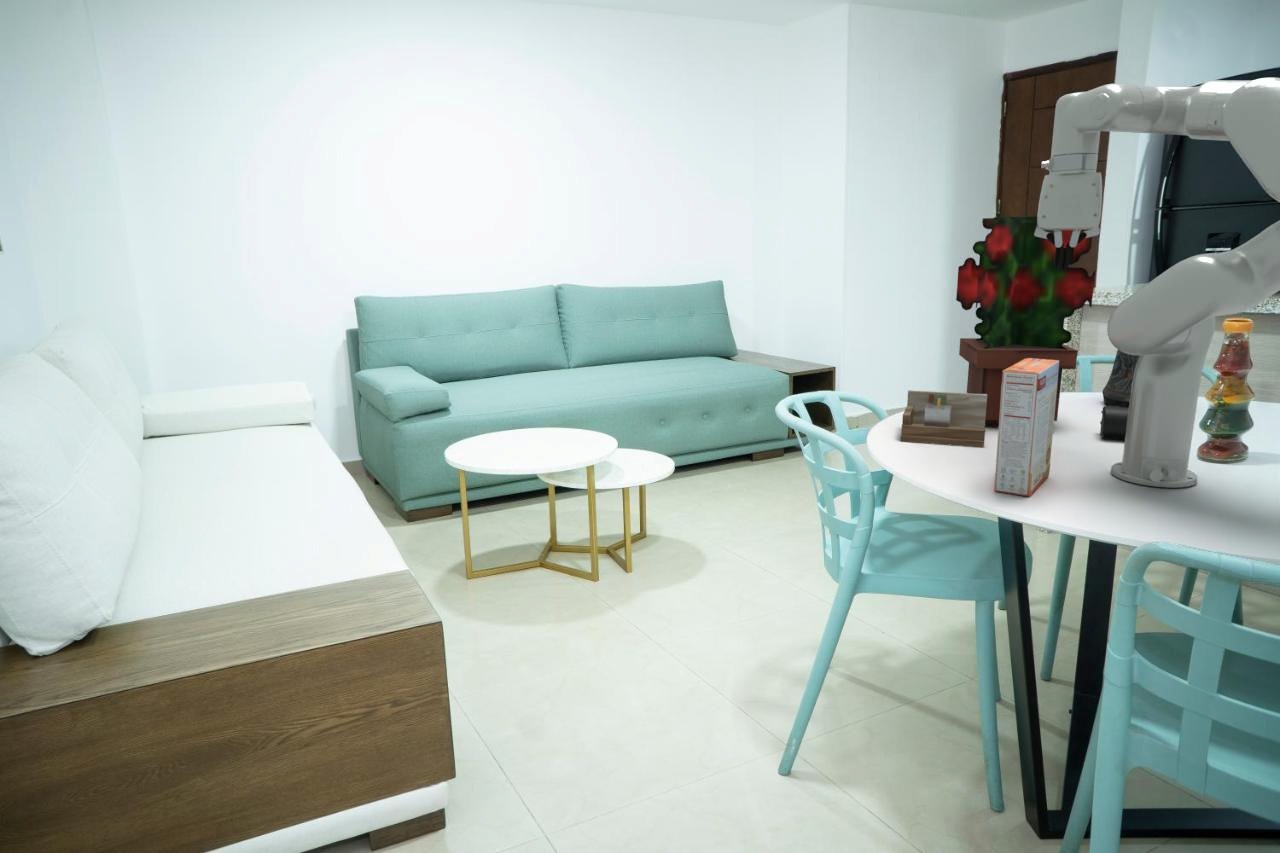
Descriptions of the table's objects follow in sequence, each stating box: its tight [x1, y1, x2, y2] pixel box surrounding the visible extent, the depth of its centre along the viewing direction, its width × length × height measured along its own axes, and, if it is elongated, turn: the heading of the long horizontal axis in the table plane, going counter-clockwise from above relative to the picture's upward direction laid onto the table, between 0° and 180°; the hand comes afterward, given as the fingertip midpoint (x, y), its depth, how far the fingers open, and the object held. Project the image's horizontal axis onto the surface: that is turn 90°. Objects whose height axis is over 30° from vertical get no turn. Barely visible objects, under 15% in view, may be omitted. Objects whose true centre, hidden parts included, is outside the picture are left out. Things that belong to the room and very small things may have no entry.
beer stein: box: [1102, 349, 1140, 408], centre depth 185 cm, size 16×19×25 cm
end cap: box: [1099, 405, 1129, 441], centre depth 160 cm, size 10×7×7 cm
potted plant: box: [955, 216, 1096, 427], centre depth 173 cm, size 22×22×45 cm
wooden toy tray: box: [900, 389, 987, 448], centre depth 166 cm, size 14×16×8 cm
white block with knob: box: [924, 398, 952, 427], centre depth 166 cm, size 5×5×6 cm
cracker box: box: [993, 358, 1059, 497], centre depth 132 cm, size 14×6×21 cm, turn 141°
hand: (1062, 268), depth 147 cm, fingers closed
